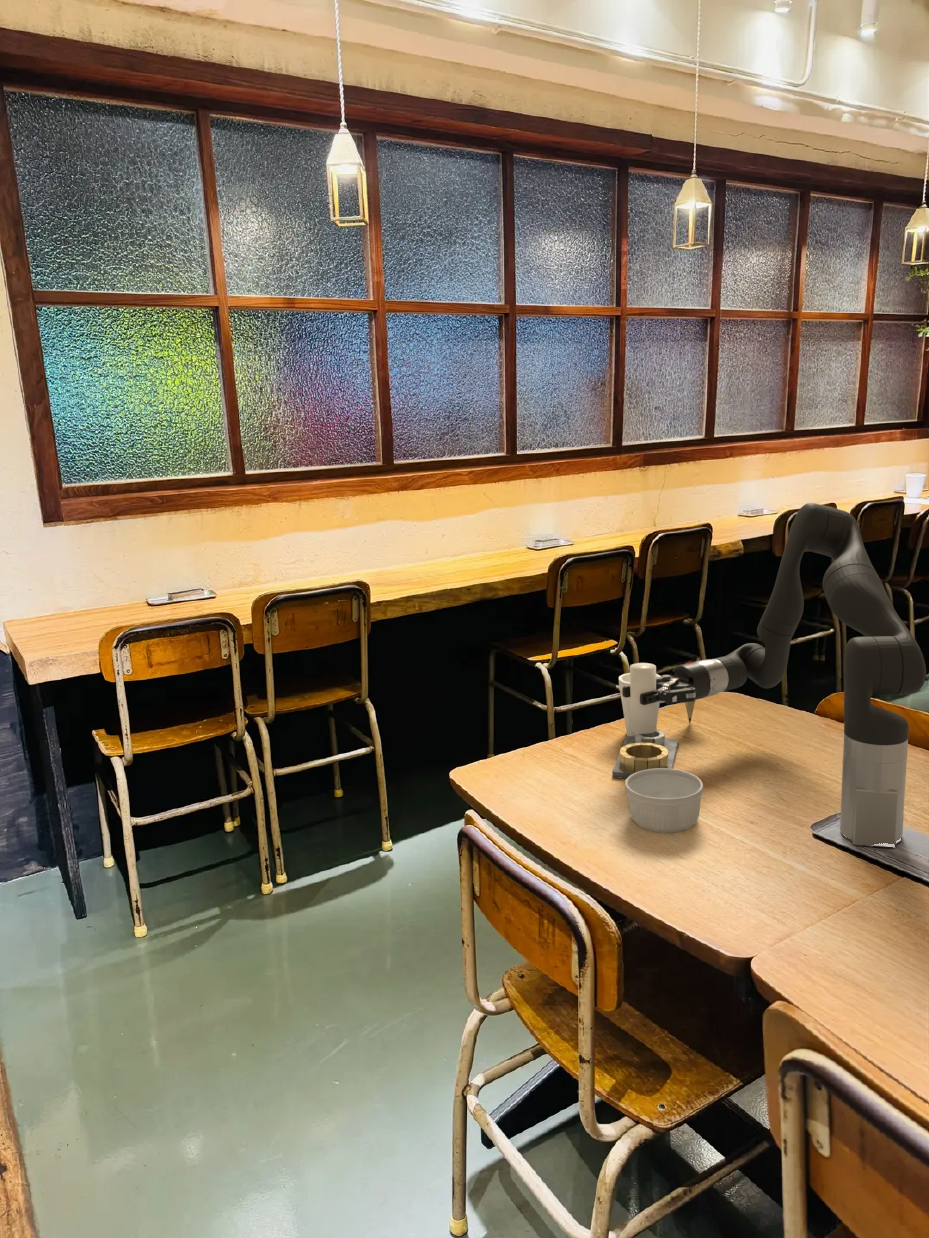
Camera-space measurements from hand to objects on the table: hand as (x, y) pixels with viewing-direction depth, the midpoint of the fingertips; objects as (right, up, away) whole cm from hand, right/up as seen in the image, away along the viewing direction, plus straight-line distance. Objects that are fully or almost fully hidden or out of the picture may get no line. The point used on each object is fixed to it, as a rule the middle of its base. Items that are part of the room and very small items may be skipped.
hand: (632, 695), depth 165 cm
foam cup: (+7, -11, +23) cm, 27 cm away
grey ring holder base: (+5, -14, +8) cm, 17 cm away
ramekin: (+2, -20, -17) cm, 27 cm away
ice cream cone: (+19, -9, +27) cm, 34 cm away
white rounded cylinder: (+3, -7, +3) cm, 8 cm away
